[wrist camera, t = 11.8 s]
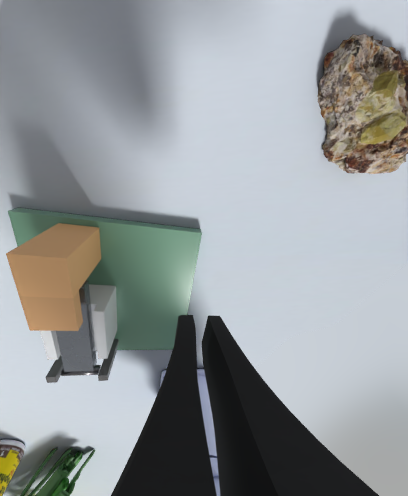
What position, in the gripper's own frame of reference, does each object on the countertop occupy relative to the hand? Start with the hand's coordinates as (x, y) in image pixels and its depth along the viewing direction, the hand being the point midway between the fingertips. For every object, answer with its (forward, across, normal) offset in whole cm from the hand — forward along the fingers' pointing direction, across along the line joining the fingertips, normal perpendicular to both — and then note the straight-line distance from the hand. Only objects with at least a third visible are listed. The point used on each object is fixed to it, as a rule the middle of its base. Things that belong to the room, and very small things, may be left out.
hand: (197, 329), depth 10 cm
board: (+10, +6, +6) cm, 13 cm away
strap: (+6, +9, +7) cm, 13 cm away
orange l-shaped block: (+9, +9, +2) cm, 13 cm away
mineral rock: (+10, -12, -14) cm, 21 cm away
